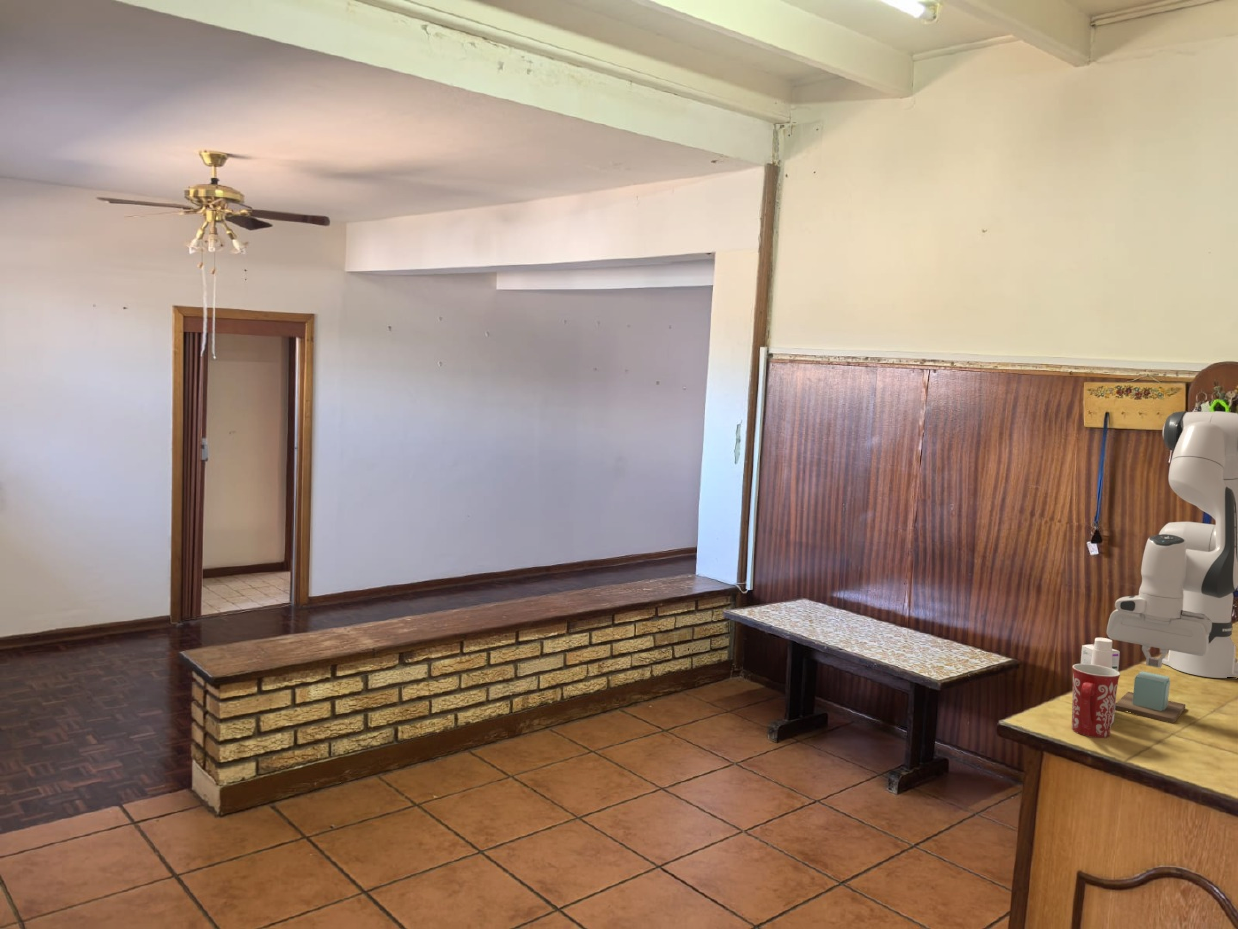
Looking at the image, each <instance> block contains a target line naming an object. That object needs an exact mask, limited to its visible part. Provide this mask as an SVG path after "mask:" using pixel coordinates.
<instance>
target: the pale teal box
mask: <svg viewBox="0 0 1238 929" xmlns="http://www.w3.org/2000/svg"><path fill="white" fill-rule="evenodd" d="M1170 684H1171V680H1170V676H1166V675H1161V674H1156V673H1153V672H1149V671H1143V670H1142V671H1140V672H1139V673H1137V674H1136V675H1135V677H1134V684H1133V692H1132V693H1133V705H1136V706H1140V707H1145V708H1149V709H1154V710H1158V711H1162V710H1165V709H1166V707H1167V706H1168V701H1169V695H1170Z"/></svg>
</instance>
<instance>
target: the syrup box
mask: <svg viewBox="0 0 1238 929" xmlns="http://www.w3.org/2000/svg"><path fill="white" fill-rule="evenodd" d="M1094 644H1095V643H1093V644H1084V645H1083V644H1082V645H1081V654H1080V655H1081V656H1080V664H1091V658H1092V653H1093V647H1094ZM1112 651H1113V654H1112V668H1113V669H1114V670H1116V671H1118V672H1119V668H1120V667H1119V665H1120V654H1121V653H1120V651H1119V650H1117V649H1114V648H1112ZM1116 703H1117V702H1116ZM1116 703H1115V704H1116Z"/></svg>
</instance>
